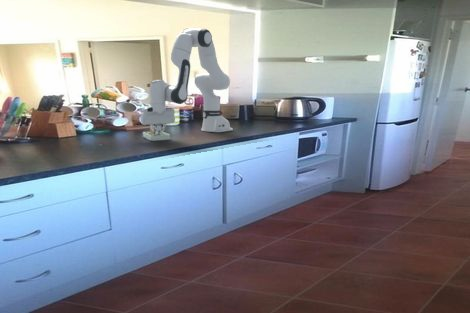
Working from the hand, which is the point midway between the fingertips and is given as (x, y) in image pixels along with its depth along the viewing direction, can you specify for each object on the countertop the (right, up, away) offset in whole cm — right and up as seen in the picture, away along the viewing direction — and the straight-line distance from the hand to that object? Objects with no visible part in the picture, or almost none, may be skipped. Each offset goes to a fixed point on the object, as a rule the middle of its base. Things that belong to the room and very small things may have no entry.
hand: (158, 131), depth 216 cm
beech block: (-4, -3, +7) cm, 8 cm away
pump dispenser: (-6, +1, +26) cm, 27 cm away
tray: (-2, -4, +4) cm, 6 cm away
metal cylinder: (0, -2, 0) cm, 2 cm away
